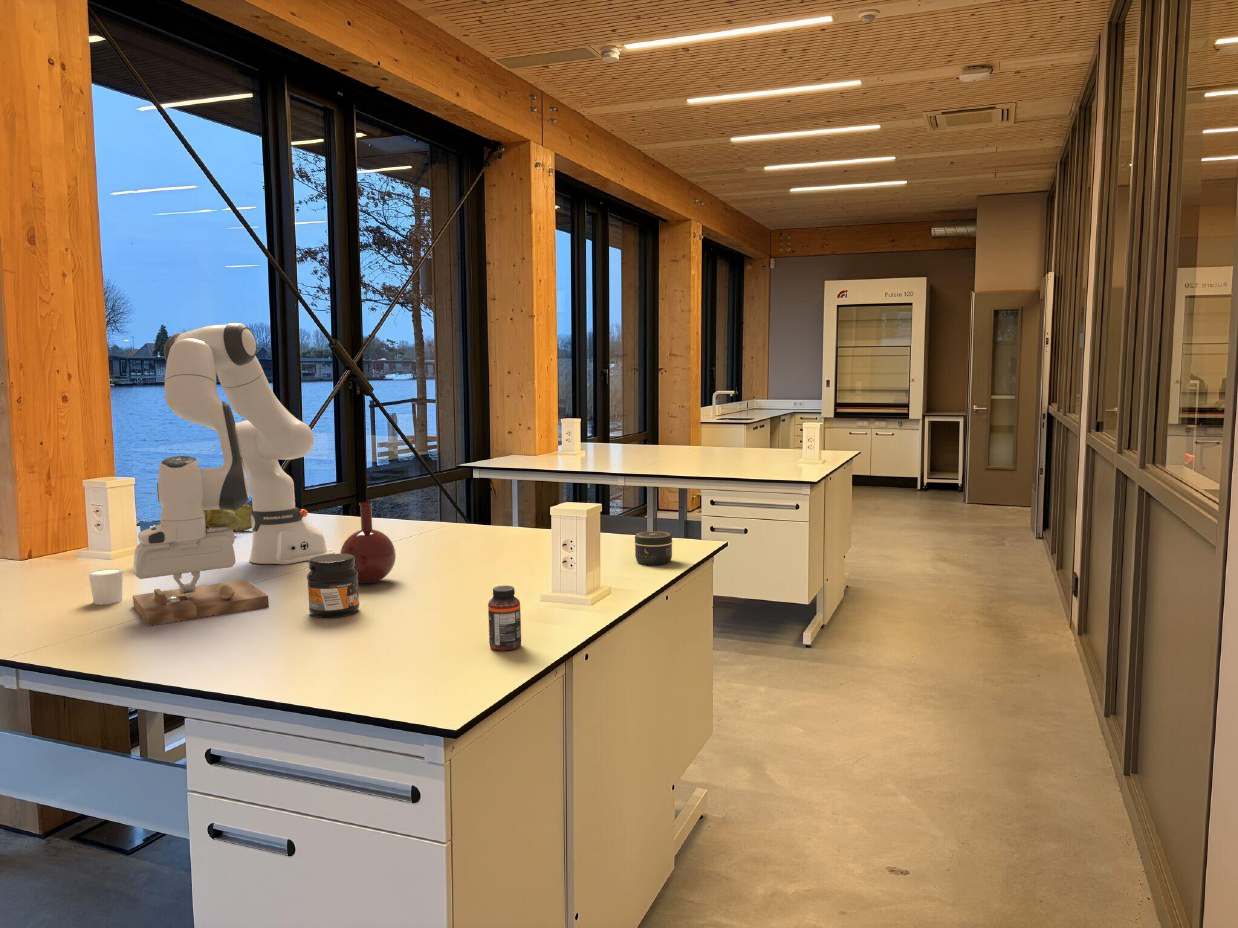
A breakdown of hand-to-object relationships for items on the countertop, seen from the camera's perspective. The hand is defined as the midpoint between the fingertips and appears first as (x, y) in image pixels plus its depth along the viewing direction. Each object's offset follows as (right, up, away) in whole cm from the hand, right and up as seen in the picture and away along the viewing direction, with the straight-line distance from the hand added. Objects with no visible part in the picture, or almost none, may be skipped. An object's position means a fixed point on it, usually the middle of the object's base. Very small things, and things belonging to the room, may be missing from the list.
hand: (187, 592), depth 198 cm
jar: (+105, +2, +41) cm, 112 cm away
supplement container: (+34, -4, -4) cm, 35 cm away
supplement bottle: (+74, -6, -31) cm, 81 cm away
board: (+2, -3, +2) cm, 4 cm away
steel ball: (-3, -2, -2) cm, 4 cm away
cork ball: (+10, 0, -2) cm, 10 cm away
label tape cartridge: (-30, +1, +47) cm, 55 cm away
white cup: (-22, -3, +8) cm, 24 cm away
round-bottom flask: (+34, -1, +23) cm, 41 cm away
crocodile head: (-36, +6, +97) cm, 104 cm away
